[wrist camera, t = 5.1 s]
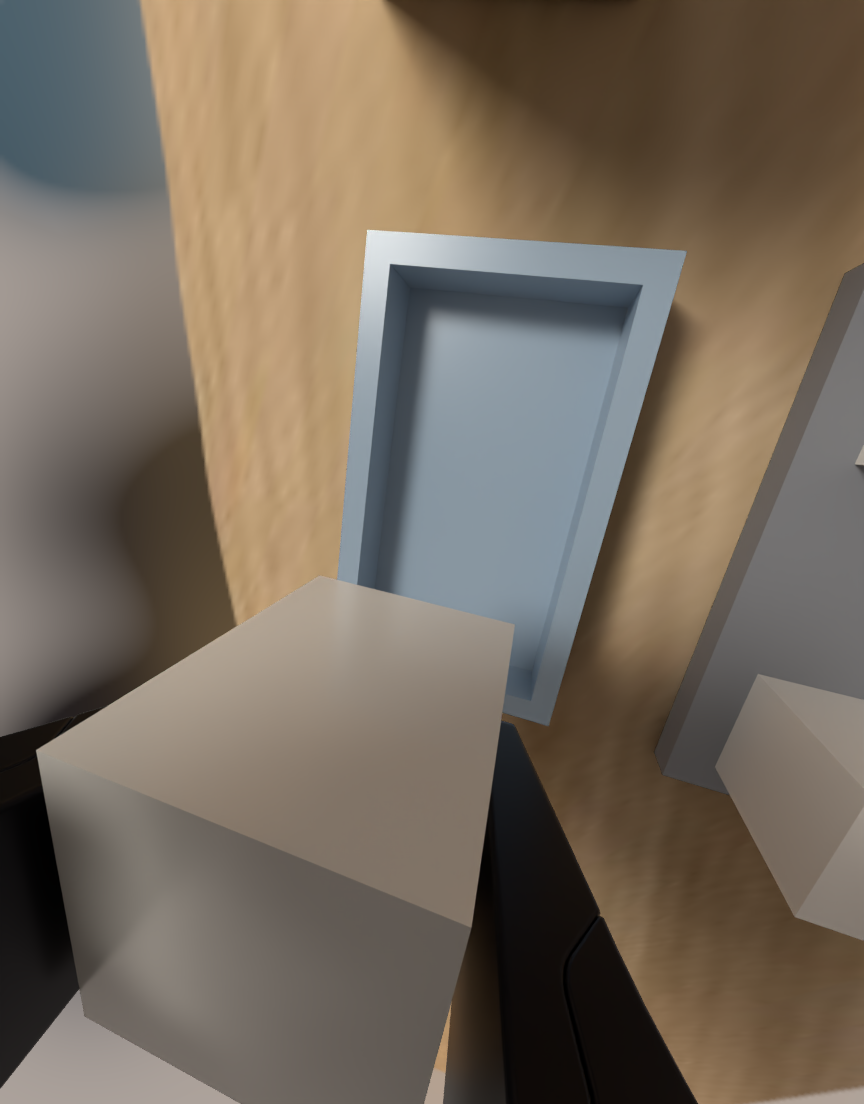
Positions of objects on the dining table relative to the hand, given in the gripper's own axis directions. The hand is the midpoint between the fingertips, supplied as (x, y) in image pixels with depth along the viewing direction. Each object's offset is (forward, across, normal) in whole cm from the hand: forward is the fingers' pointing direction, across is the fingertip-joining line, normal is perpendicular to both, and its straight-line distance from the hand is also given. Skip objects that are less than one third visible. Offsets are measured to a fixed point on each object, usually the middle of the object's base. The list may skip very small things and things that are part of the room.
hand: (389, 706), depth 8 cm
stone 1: (+1, 0, 0) cm, 1 cm away
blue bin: (+9, 0, -3) cm, 10 cm away
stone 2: (+8, -12, +3) cm, 15 cm away
